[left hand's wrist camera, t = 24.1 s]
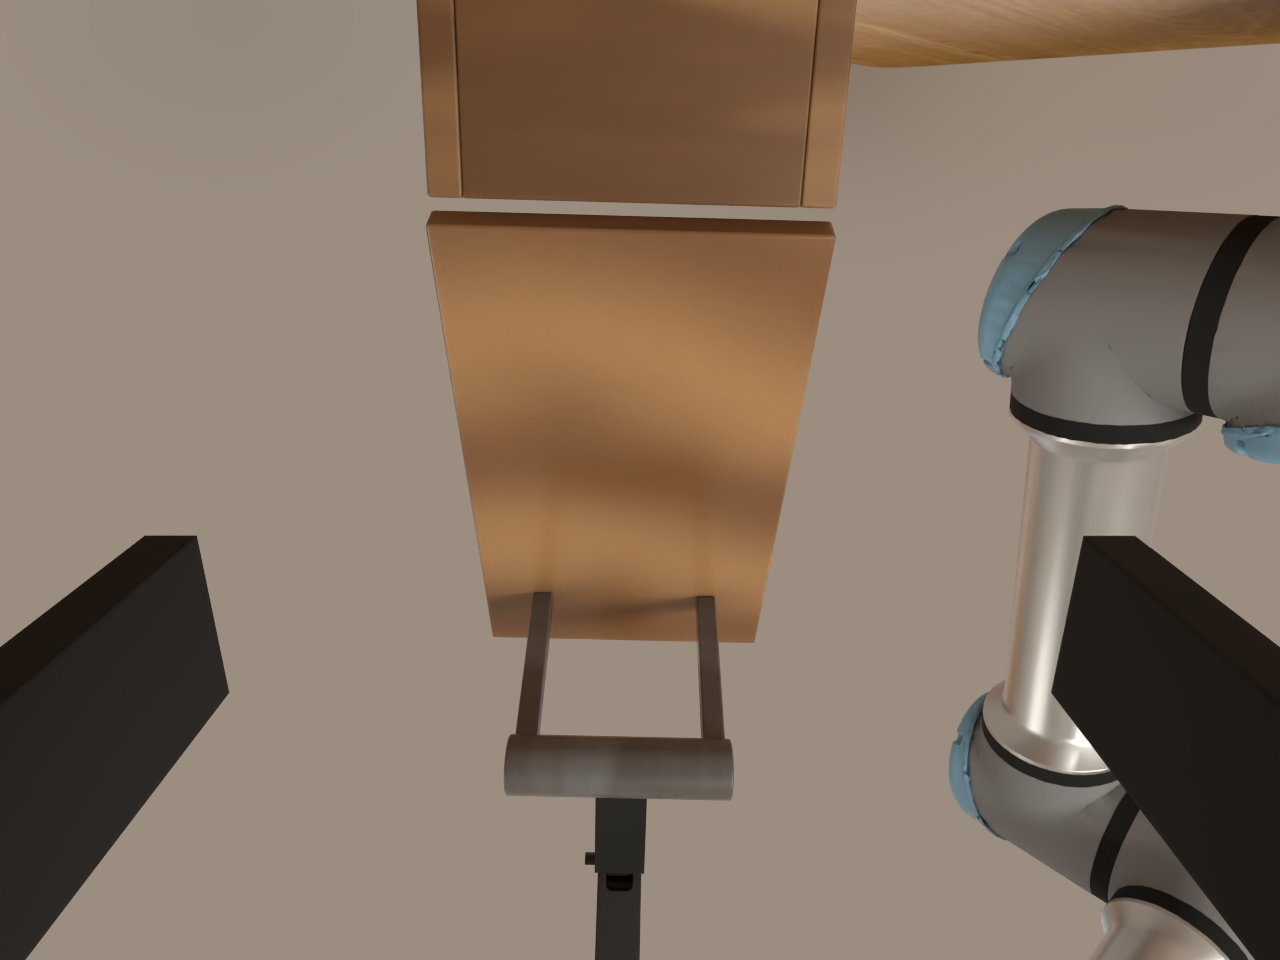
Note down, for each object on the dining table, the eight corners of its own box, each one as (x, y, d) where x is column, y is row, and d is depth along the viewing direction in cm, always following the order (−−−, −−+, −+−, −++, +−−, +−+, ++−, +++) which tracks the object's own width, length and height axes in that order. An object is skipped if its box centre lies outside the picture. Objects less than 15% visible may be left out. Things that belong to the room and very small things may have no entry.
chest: (770, -72, 34) (752, 192, 37) (512, -80, 34) (518, 186, 37) (886, -288, 18) (836, 208, 21) (398, -304, 18) (426, 197, 21)
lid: (752, 626, 34) (774, 835, 28) (495, 620, 34) (461, 828, 28) (831, 220, 22) (900, 433, 16) (430, 208, 22) (345, 419, 16)
